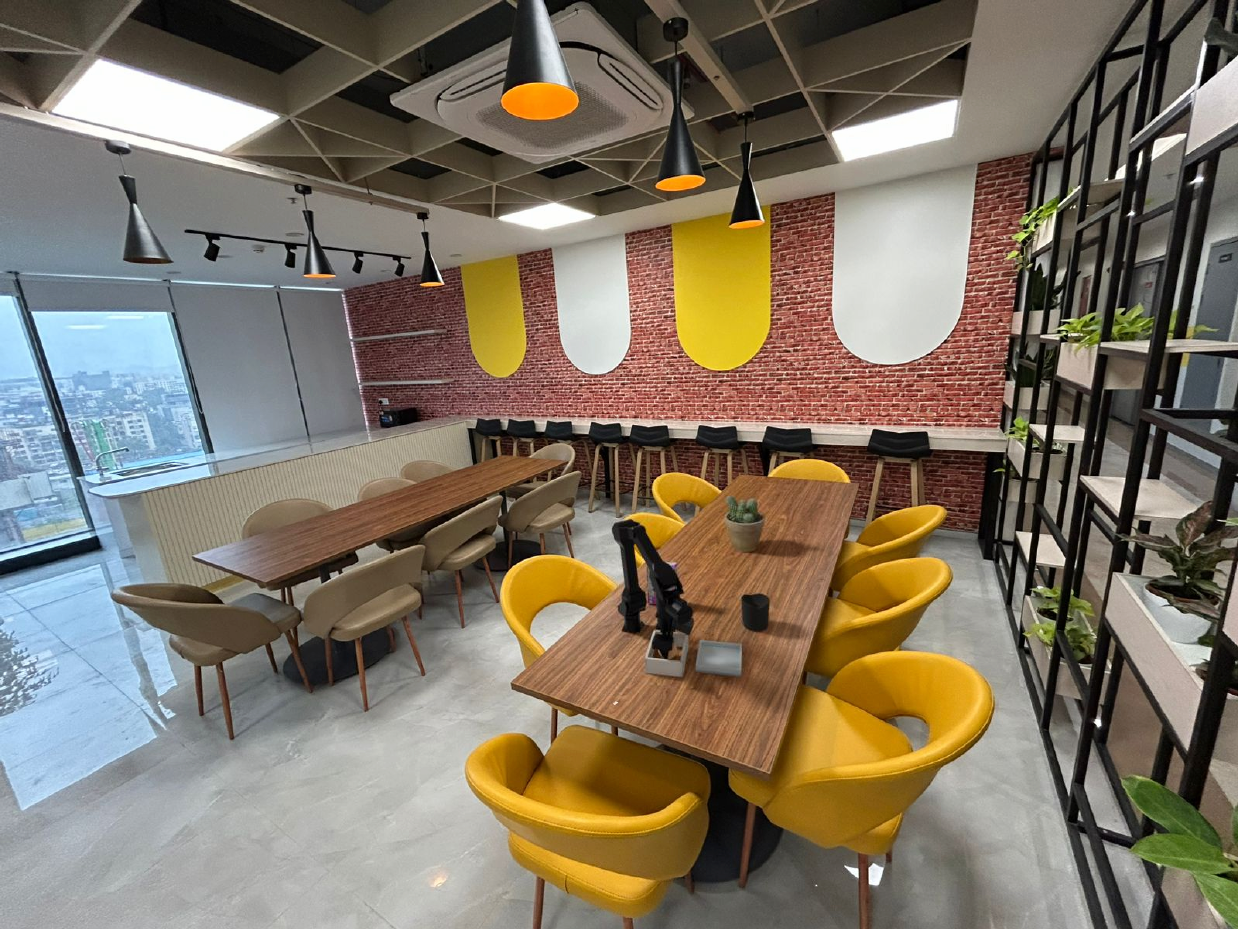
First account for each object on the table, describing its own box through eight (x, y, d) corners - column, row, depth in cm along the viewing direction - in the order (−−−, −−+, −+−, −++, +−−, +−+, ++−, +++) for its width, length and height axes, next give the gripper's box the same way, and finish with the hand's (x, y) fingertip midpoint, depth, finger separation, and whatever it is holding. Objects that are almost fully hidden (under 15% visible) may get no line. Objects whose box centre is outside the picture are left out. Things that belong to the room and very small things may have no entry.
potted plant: (761, 539, 243) (761, 491, 237) (768, 555, 226) (769, 503, 220) (723, 540, 245) (722, 492, 239) (727, 556, 228) (727, 504, 222)
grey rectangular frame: (654, 643, 166) (653, 630, 164) (688, 646, 163) (688, 633, 162) (645, 673, 151) (644, 658, 150) (682, 677, 148) (682, 662, 147)
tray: (699, 645, 163) (699, 640, 162) (741, 649, 159) (741, 643, 159) (695, 672, 150) (695, 665, 150) (741, 677, 147) (741, 670, 146)
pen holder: (748, 615, 179) (748, 589, 177) (773, 623, 173) (774, 597, 171) (736, 627, 172) (736, 601, 170) (762, 635, 166) (762, 609, 164)
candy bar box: (647, 605, 190) (645, 565, 186) (650, 598, 194) (648, 560, 191) (676, 607, 187) (675, 567, 183) (678, 601, 191) (677, 561, 187)
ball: (659, 650, 160) (659, 634, 159) (678, 652, 159) (677, 635, 157) (656, 662, 155) (656, 645, 153) (675, 664, 153) (675, 647, 152)
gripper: (688, 627, 142) (689, 675, 146) (695, 595, 159) (696, 638, 163) (650, 624, 145) (652, 670, 148) (660, 593, 162) (662, 635, 166)
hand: (667, 652), depth 156 cm, fingers closed on ball, 6 cm apart
